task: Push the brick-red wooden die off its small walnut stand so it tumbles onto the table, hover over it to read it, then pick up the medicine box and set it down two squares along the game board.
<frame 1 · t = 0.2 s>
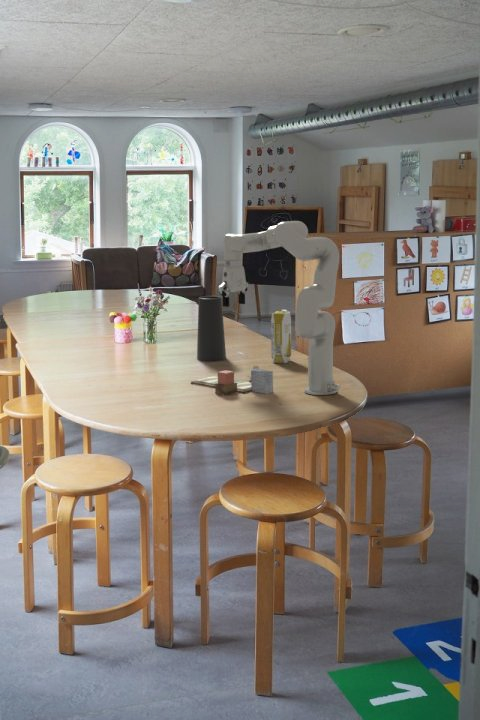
hand: (234, 305, 369), 31 cm above the table, tool pointing down, fingers open, 9 cm apart
board: (227, 385, 360), on the table
stand: (226, 393, 347), on the table
juice carton: (281, 362, 406), on the table
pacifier: (256, 381, 367), on the table
medicine box: (262, 392, 347), on the table
die: (226, 383, 346), point 4 cm above the table, touching stand
dark tapered cylinder: (211, 358, 416), on the table
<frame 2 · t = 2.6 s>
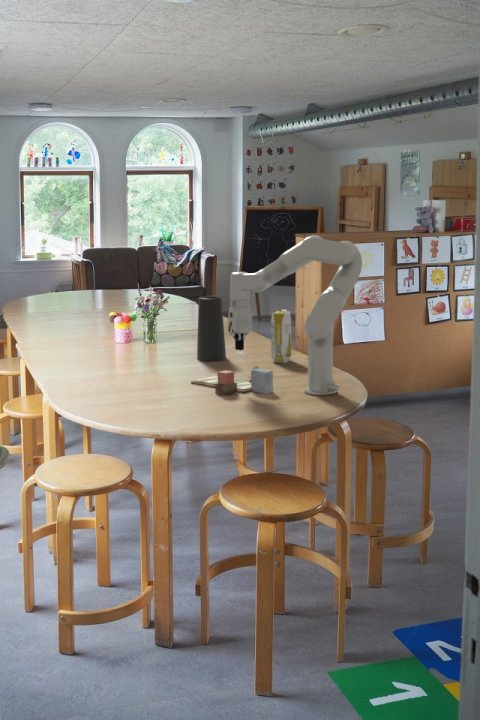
hand: (239, 349, 350), 16 cm above the table, tool pointing down, fingers closed
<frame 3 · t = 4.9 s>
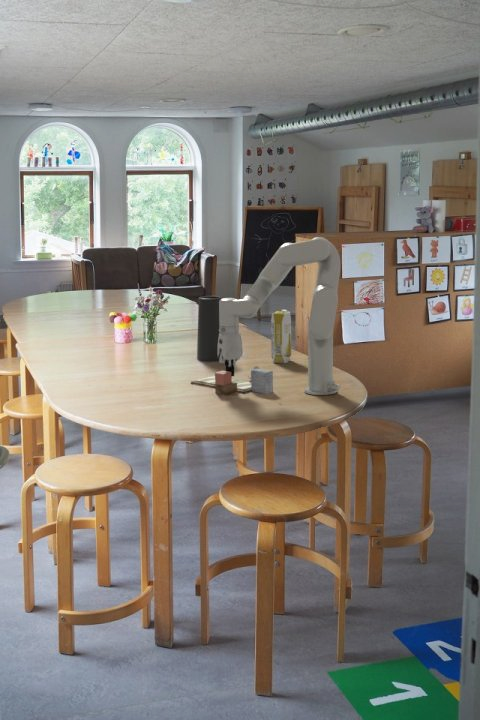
hand: (229, 375, 347), 6 cm above the table, tool pointing down, fingers closed
die: (223, 383, 345), point 4 cm above the table, touching gripper, stand
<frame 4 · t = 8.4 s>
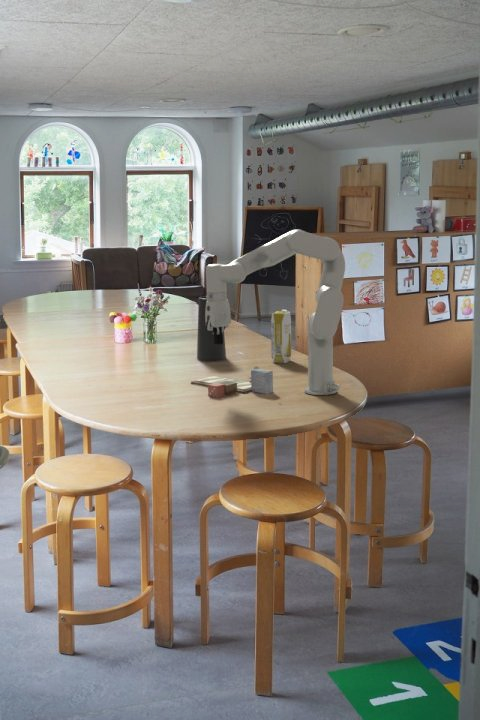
hand: (218, 343, 340), 20 cm above the table, tool pointing down, fingers closed
die: (220, 389, 344), point 2 cm above the table, tilted 90°
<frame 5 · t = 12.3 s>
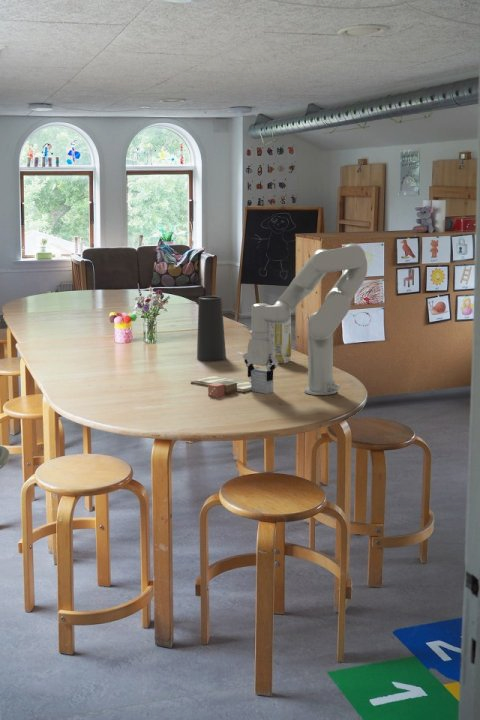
hand: (260, 378, 346), 5 cm above the table, tool pointing down, fingers open, 9 cm apart
medicine box: (262, 392, 348), on the table, touching board
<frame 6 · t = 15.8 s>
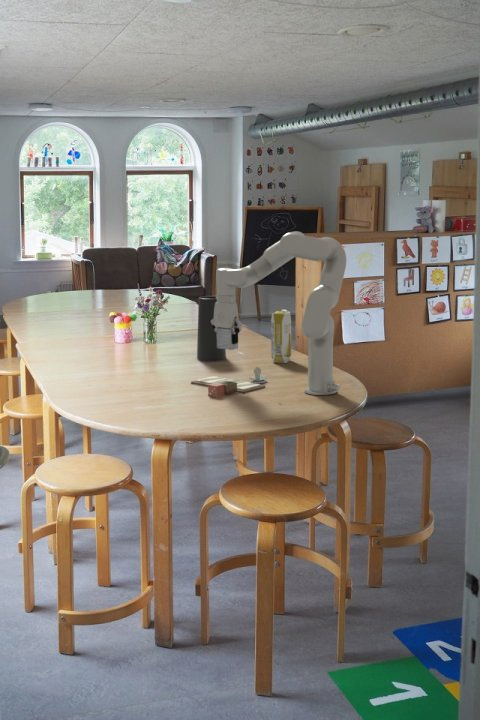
hand: (227, 342, 356), 18 cm above the table, tool pointing down, fingers closed on medicine box, 8 cm apart
medicine box: (227, 349, 357), point 15 cm above the table, touching gripper
die: (220, 389, 344), point 2 cm above the table, tilted 90°, touching stand
when the fingers open (5 cm above the table, at t = 18.8 s): medicine box stays where it is, resting on board.
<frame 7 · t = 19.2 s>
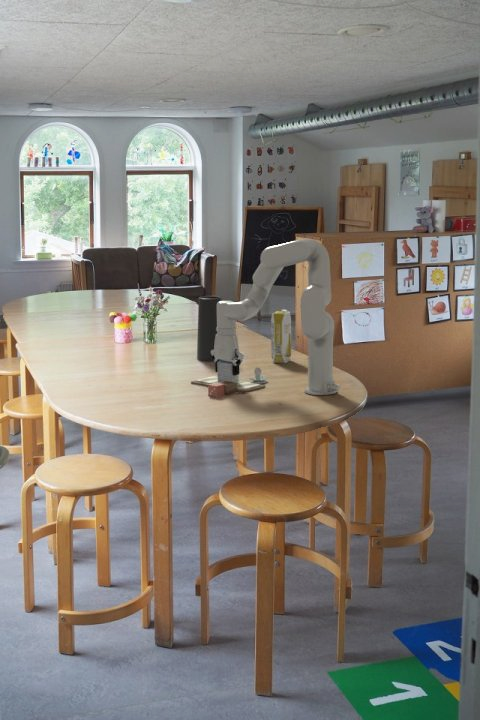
hand: (227, 373, 359), 5 cm above the table, tool pointing down, fingers open, 9 cm apart
medicine box: (228, 382, 359), point 1 cm above the table, touching board
die: (220, 389, 344), point 2 cm above the table, tilted 90°
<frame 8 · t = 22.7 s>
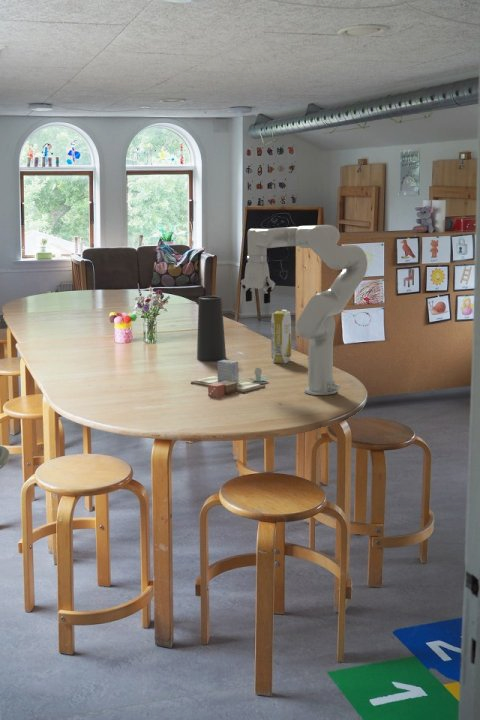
hand: (257, 302, 357), 33 cm above the table, tool pointing down, fingers open, 9 cm apart
at the end: medicine box inside the target area (0.2 cm from its centre), point 1.1 cm above the table; medicine box tilted 0°; die touching table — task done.
